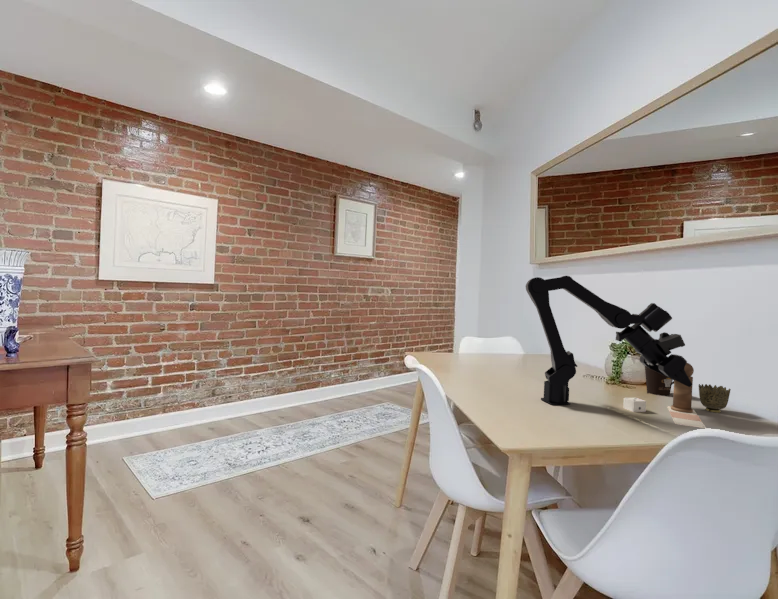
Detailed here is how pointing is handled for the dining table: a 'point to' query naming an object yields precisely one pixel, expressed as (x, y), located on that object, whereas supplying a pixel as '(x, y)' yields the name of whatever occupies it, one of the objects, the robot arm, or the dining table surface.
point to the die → (634, 404)
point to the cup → (713, 397)
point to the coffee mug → (657, 383)
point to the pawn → (683, 393)
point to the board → (686, 416)
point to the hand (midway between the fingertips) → (683, 382)
